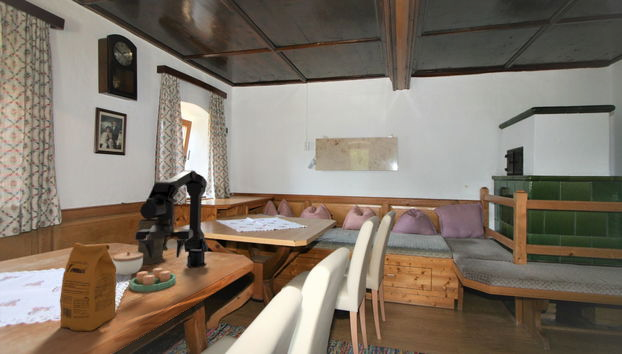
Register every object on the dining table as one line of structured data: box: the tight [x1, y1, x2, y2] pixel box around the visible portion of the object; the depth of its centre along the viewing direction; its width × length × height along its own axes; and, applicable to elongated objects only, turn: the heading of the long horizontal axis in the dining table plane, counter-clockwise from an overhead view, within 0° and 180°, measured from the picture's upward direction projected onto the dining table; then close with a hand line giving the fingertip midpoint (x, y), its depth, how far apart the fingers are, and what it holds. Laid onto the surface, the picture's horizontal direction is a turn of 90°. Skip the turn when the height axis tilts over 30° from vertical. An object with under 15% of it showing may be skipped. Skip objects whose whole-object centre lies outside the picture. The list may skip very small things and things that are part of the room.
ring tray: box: [129, 272, 177, 293], centre depth 113 cm, size 15×15×3 cm
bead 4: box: [160, 270, 171, 283], centre depth 113 cm, size 4×4×4 cm
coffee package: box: [59, 241, 117, 332], centre depth 85 cm, size 10×12×22 cm
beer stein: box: [137, 218, 170, 265], centre depth 146 cm, size 15×11×20 cm
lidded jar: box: [112, 250, 144, 276], centre depth 125 cm, size 11×11×9 cm
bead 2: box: [143, 275, 155, 285], centre depth 109 cm, size 4×4×4 cm
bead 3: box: [152, 267, 164, 281], centre depth 117 cm, size 4×4×4 cm
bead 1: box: [136, 270, 149, 285], centre depth 112 cm, size 4×4×4 cm
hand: (164, 257), depth 113 cm, fingers open, 9 cm apart
